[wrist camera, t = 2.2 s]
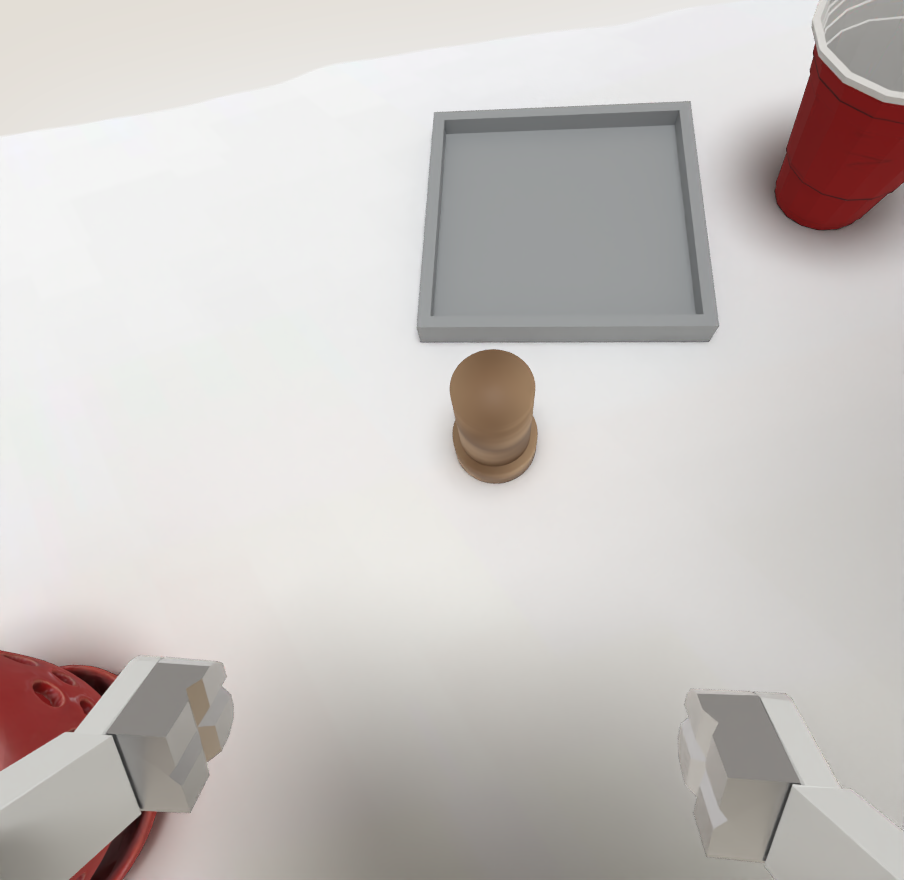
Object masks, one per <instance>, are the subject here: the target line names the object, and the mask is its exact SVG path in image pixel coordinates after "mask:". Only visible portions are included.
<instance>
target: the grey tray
mask: <svg viewBox="0 0 904 880" xmlns="http://www.w3.org/2000/svg"><path fill="white" fill-rule="evenodd" d="M718 327H719V321H718V314H717V306H716V298H715V290H714V282H713V275H712V267H711V259H710V251H709V243H708V235H707V228H706V220H705V212H704V204H703V196H702V188H701V181H700V173H699V165H698V157H697V149H696V141H695V134H694V126H693V118H692V110H691V102H690V101H684V102H661V103H638V104H615V105H592V106H568V107H545V108H522V109H499V110H475V111H452V112H434V120H433V132H432V144H431V157H430V169H429V181H428V194H427V206H426V218H425V231H424V243H423V255H422V268H421V280H420V293H419V305H418V317H417V330H418V334H419V338H420V341H421V342H697V341H710V339H711V338H712V336H713V335H714V333H715V331H716V330H717V328H718Z"/></svg>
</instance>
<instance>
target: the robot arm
mask: <svg viewBox="0 0 904 880" xmlns="http://www.w3.org/2000/svg"><path fill="white" fill-rule="evenodd" d="M226 677H227V675H226V672H225V669H224V665H223V663H221V662H217V661H208V660H196V659H185V658H173V657H157V656H144V655H139V656H137V657H136V658H134V659H132V660H131V661H130V662H129V663H128V664H127V665H126V667H125V668H124V669H123V671H122V672H121V673H120V674H119V676H118V677H117V678H116V679H115V681H114V682H113V683H112V684H111V686H110V687H109V688H108V689H107V691H106V692H105V693H104V694H103V696H102V697H101V698H100V700H99V701H98V702H97V703H96V705H95V706H94V707H93V708H92V710H91V711H90V712H89V713H88V715H87V716H86V717H85V718H84V720H83V721H82V722H81V723H80V725H79V726H78V727H77V729H76V730H75V731H74V732H64V733H63V734H61V735H59V736H58V737H56V738H54V739H53V740H51V741H50V742H48V743H46V744H45V745H43V746H41V747H40V748H38V749H36V750H35V751H33V752H31V753H30V754H28V755H27V756H25V757H23V758H22V759H20V760H18V761H17V762H15V763H13V764H12V765H10V766H9V767H7V768H5V769H4V770H2V771H0V880H69V879H70V878H71V877H72V876H74V875H75V874H76V873H77V872H78V871H79V870H80V869H81V868H82V867H83V866H85V865H86V864H87V863H88V862H89V861H90V860H91V859H92V858H93V857H94V856H96V855H97V854H98V853H99V852H100V851H101V850H102V849H103V848H104V847H105V846H107V845H108V844H109V843H110V842H111V841H112V840H113V839H114V838H115V837H116V836H117V835H119V834H120V833H121V832H122V831H123V830H124V829H125V828H126V827H127V826H128V825H130V824H131V823H132V822H133V821H134V820H135V819H136V818H137V817H138V816H139V815H141V811H158V812H177V813H191V811H192V809H193V807H194V805H195V803H196V801H197V799H198V797H199V795H200V793H201V791H202V789H203V787H204V785H205V783H206V781H207V779H208V777H209V770H208V764H207V762H208V761H210V760H211V759H212V758H213V757H215V756H216V755H217V754H219V753H220V752H221V751H222V749H223V747H224V745H225V743H226V741H227V739H228V737H229V734H230V730H231V726H232V722H233V716H234V705H233V700H232V696H231V694H230V693H229V692H228V691H227V690H226V689H225V688H223V687H222V684H223V683H224V681H225V679H226ZM684 705H685V708H686V711H687V714H688V718H687V719H686V720H685V721H683V722H682V723H681V724H680V729H679V735H678V755H679V761H680V767H681V772H682V775H683V779H684V782H685V785H686V786H687V787H688V788H689V789H690V791H691V792H692V793H693V794H694V795H695V796H696V797H697V799H696V803H695V807H694V812H693V813H694V817H695V820H696V824H697V827H698V830H699V834H700V837H701V840H702V844H703V847H704V850H705V854H706V857H714V858H723V859H732V860H741V861H750V862H759V863H765V865H764V867H765V868H766V869H767V870H768V872H769V873H770V874H771V875H772V876H773V878H774V879H775V880H904V831H903V830H902V829H901V828H899V827H898V826H897V825H896V824H894V823H893V822H892V821H891V820H889V819H888V818H887V817H886V816H885V815H883V814H882V813H881V812H880V811H878V810H877V809H876V808H875V807H873V806H872V805H871V804H870V803H868V802H867V801H866V800H865V799H864V798H862V797H861V796H860V795H859V794H857V793H856V792H855V791H854V790H852V789H848V788H841V787H840V785H839V783H838V781H837V779H836V777H835V776H834V774H833V772H832V770H831V768H830V767H829V765H828V763H827V761H826V759H825V758H824V756H823V754H822V752H821V750H820V749H819V747H818V745H817V743H816V741H815V740H814V738H813V736H812V734H811V732H810V731H809V729H808V727H807V725H806V723H805V722H804V720H803V718H802V716H801V714H800V713H799V711H798V709H797V707H796V705H795V704H794V702H793V700H792V699H791V698H790V697H789V696H788V695H787V694H786V693H769V692H750V691H733V690H712V689H690V690H689V692H688V693H687V696H686V700H685V704H684Z"/></svg>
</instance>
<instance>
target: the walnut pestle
mask: <svg viewBox="0 0 904 880" xmlns="http://www.w3.org/2000/svg"><path fill="white" fill-rule="evenodd" d="M450 396H451V401H452V405H453V410H454V414H455V419H456V420H455V423H454V426H453V442H454V446H455V450H456V454H457V457H458V460H459V462H460V464H461V466H462V467H463V468H464V470H465V471H466V472H467V473H468V474H469V475H471V476H472V477H474V478H476V479H478V480H480V481H483V482H487V483H494V484H495V483H505V482H508V481H511V480H513V479H515V478H517V477H519V476H520V475H521V474H523V473H524V472H525V471H526V470H527V469H528V467H529V466H530V464H531V463H532V461H533V458H534V455H535V451H536V444H537V434H538V433H537V425H536V422H535V419H534V417H533V406H534V396H535V381H534V377H533V374H532V372H531V370H530V368H529V367H528V365H527V364H526V363H525V362H524V361H523V360H522V359H520V358H519V357H518V356H516V355H514V354H512V353H510V352H507V351H503V350H494V349H493V350H484V351H480V352H477V353H474V354H472V355H470V356H469V357H467V358H466V359H464V360H463V361H462V362H461V363H460V364H459V365H458V367H457V368H456V370H455V371H454V373H453V375H452V378H451V382H450Z"/></svg>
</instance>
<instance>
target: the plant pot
mask: <svg viewBox="0 0 904 880" xmlns="http://www.w3.org/2000/svg"><path fill="white" fill-rule="evenodd" d="M117 677H118V676H117V675H115V674H113V673H111V672H108V671H106V670H103V669H100V668H97V667H92V666H85V665H67V666H60V667H58V666H56V665H54V664H51V663H49V662H46V661H43V660H40V659H36V658H33V657H29V656H24V655H20V654H16V653H11V652H6V651H1V650H0V771H2V770H4V769H5V768H7V767H9V766H10V765H12V764H13V763H15V762H17V761H18V760H20V759H22V758H23V757H25V756H27V755H28V754H30V753H31V752H33V751H35V750H36V749H38V748H40V747H41V746H43V745H45V744H46V743H48V742H50V741H51V740H53V739H54V738H56V737H58V736H59V735H61V734H63V733H64V732H74V731H75V730H76V729H77V727H78V726H79V725H80V723H81V722H82V721H83V720H84V718H85V717H86V716H87V715H88V713H89V712H90V711H91V710H92V708H93V707H94V706H95V705H96V703H97V702H98V701H99V700H100V698H101V697H102V696H103V694H104V693H105V692H106V691H107V689H108V688H109V687H110V686H111V684H112V683H113V682H114V681H115V679H116V678H117ZM156 813H157V811H141V815H139V816H138V817H137V818H136V819H135V820H134V821H133V822H132V823H131V824H130V825H128V826H127V827H126V828H125V829H124V830H123V831H122V832H121V833H120V834H119V835H117V836H116V837H115V838H114V839H113V840H112V841H111V842H110V843H109V844H108V845H107V846H105V847H104V848H103V849H102V850H101V851H100V852H99V853H98V854H97V855H96V856H94V857H93V858H92V859H91V860H90V861H89V862H88V863H87V864H86V865H85V866H83V867H82V868H81V869H80V870H79V871H78V872H77V873H76V874H75V875H74V876H72V877H71V878H70V879H69V880H122V879H123V878H124V877H125V875H126V874H127V873H128V871H129V870H130V868H131V867H132V865H133V863H134V862H135V860H136V858H137V857H138V855H139V853H140V851H141V850H142V848H143V846H144V844H145V841H146V839H147V837H148V835H149V832H150V830H151V828H152V825H153V822H154V819H155V816H156Z"/></svg>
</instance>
